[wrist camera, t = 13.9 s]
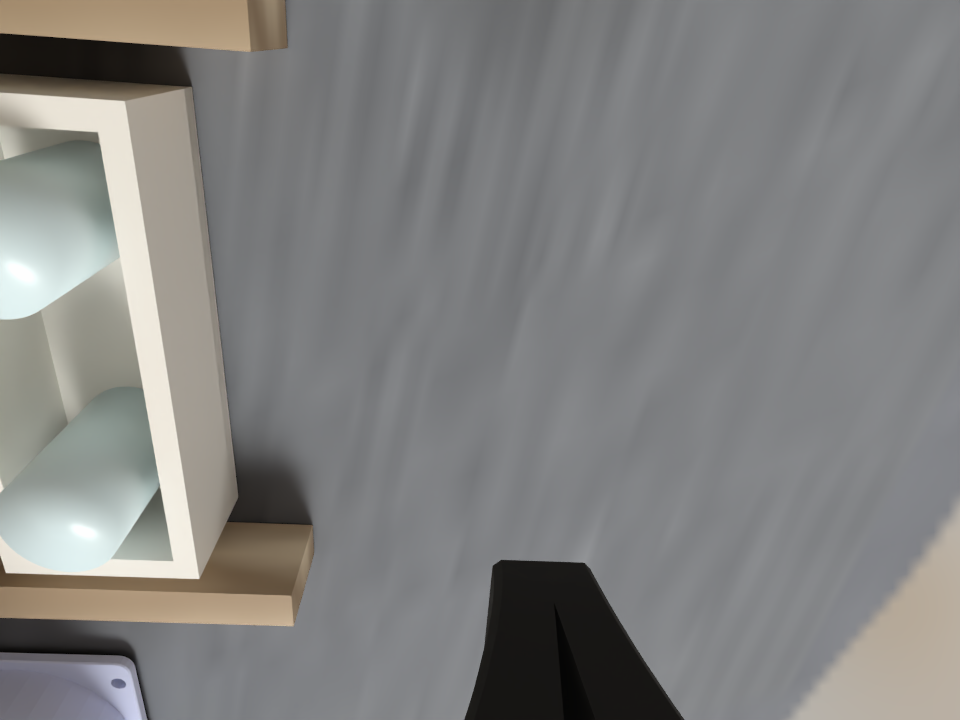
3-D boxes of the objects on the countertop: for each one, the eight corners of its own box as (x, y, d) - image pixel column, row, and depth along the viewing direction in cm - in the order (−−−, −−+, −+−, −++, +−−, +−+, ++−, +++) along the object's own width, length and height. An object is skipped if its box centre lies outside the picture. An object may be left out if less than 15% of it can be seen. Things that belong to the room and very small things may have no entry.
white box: (238, 496, 21) (182, 614, 17) (74, 490, 21) (-24, 608, 16) (192, 87, 16) (93, 107, 11) (-29, 71, 15) (-213, 86, 11)
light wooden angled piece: (314, 553, 22) (276, 686, 18) (-83, 539, 21) (-228, 674, 17) (284, -12, 15) (207, -30, 10) (-317, -60, 14) (-676, -102, 10)
